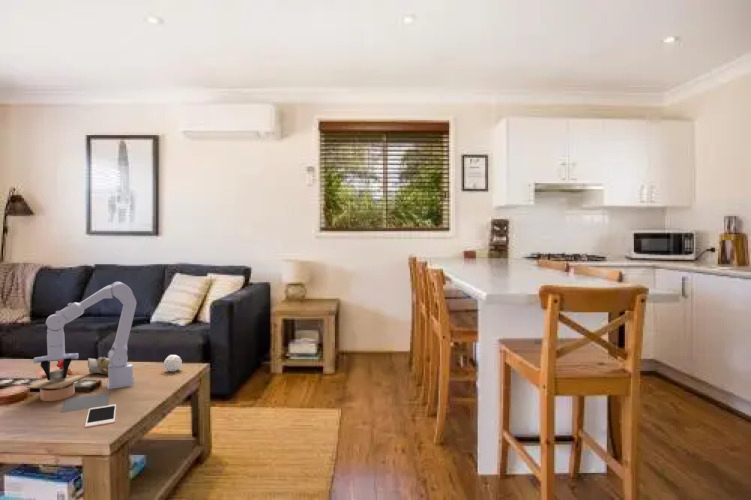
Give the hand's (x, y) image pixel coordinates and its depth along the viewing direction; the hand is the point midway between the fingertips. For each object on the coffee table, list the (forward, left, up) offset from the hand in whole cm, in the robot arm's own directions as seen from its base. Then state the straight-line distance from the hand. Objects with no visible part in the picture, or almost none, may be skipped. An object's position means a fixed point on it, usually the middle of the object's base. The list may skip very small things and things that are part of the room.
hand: (57, 378), depth 185 cm
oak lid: (0, 0, -1) cm, 1 cm away
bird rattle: (+1, -18, -8) cm, 20 cm away
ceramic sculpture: (-14, -26, -8) cm, 31 cm away
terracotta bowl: (0, 0, -7) cm, 7 cm away
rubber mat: (-11, +13, -7) cm, 19 cm away
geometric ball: (-43, -16, -8) cm, 47 cm away
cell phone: (-17, +29, -8) cm, 35 cm away
